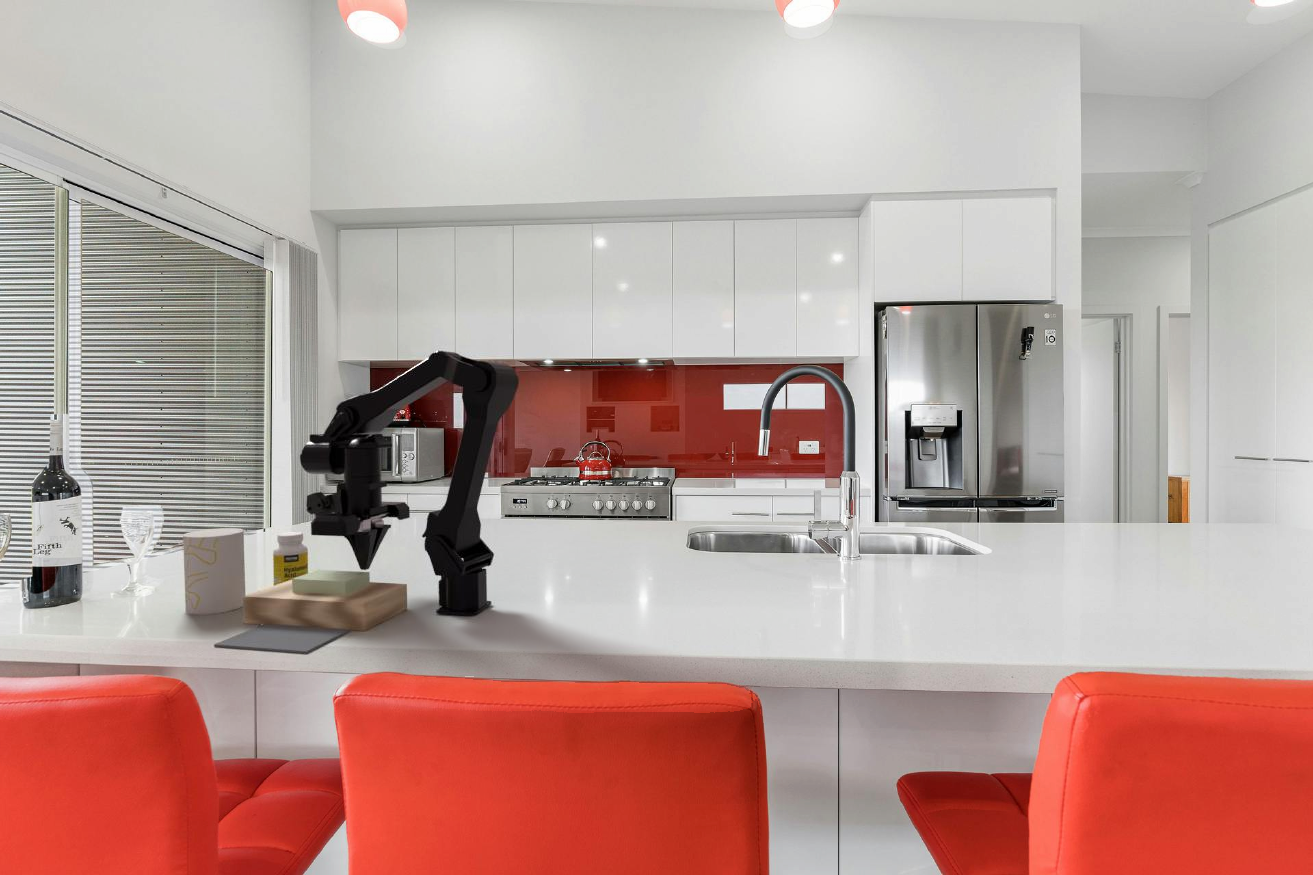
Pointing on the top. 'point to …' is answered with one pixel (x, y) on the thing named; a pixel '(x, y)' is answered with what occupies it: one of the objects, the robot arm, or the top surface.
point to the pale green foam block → (331, 582)
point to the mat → (283, 638)
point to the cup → (214, 570)
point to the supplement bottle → (289, 557)
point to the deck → (325, 606)
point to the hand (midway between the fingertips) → (364, 569)
